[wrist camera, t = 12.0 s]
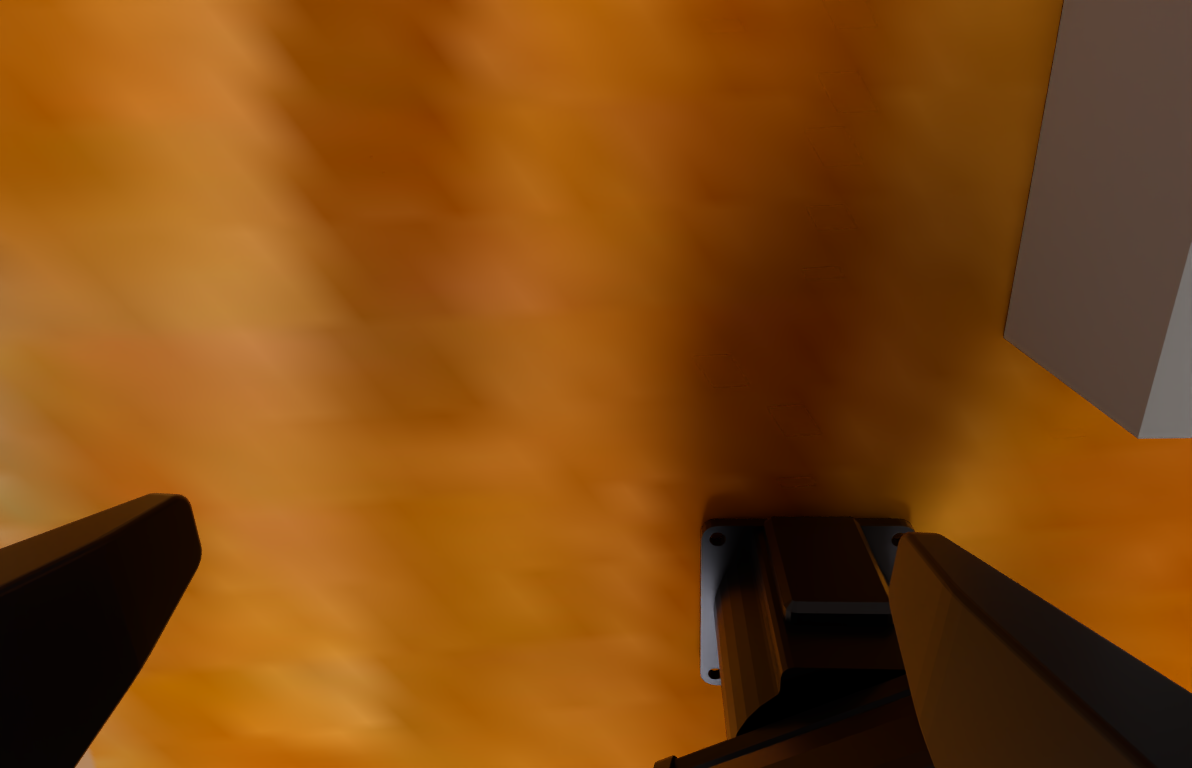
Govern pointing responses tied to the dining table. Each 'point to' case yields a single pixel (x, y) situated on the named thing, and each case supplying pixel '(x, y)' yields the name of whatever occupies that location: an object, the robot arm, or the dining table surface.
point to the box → (1114, 216)
